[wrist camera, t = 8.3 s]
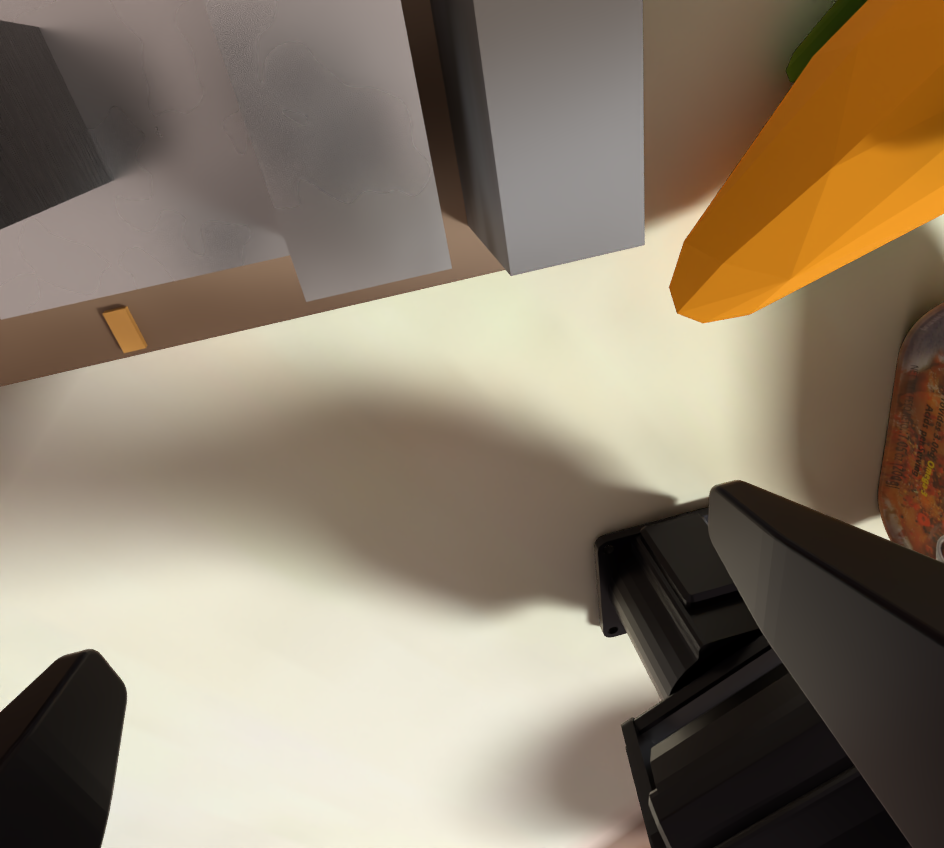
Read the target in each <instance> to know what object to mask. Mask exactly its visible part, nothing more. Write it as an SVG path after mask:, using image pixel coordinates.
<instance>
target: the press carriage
mask: <svg viewBox="0 0 944 848" xmlns="http://www.w3.org/2000/svg"><path fill="white" fill-rule="evenodd" d="M289 255H290V256H291V259H292V262H293V265H294V268H295V271H296V274H297V277H298V279H299V282H300V285H301V288H302V291H303V294H304V297H305V300H306V302H308V301H313V300H317V299H321V298H326V297H330V296H334V295H339V294H343V293H347V292H352V291H356V290H361V289H365V288H369V287H374V286H378V285H382V284H387V283H391V282H395V281H400V280H404V279H408V278H413V277H417V276H422V275H426V274H430V273H435V272H439V271H443V270H448V269H452V266H451V261H450V255H449V250H448V245H447V240H446V234H445V229H444V224H443V219H442V214H441V208H440V203H439V198H438V193H437V188H436V182H435V177H434V172H433V167H432V161H431V156H430V151H429V146H428V141H427V135H426V130H425V125H424V120H423V115H422V109H421V104H420V99H419V94H418V88H417V83H416V78H415V73H414V68H413V62H412V57H411V52H410V47H409V42H408V36H407V31H406V26H405V21H404V15H403V10H402V5H401V0H0V319H1V320H2V319H7V318H11V317H16V316H20V315H25V314H29V313H34V312H38V311H43V310H47V309H51V308H56V307H60V306H65V305H69V304H74V303H78V302H83V301H87V300H92V299H96V298H101V297H105V296H110V295H114V294H119V293H123V292H128V291H132V290H137V289H141V288H146V287H150V286H155V285H159V284H164V283H168V282H172V281H177V280H181V279H186V278H190V277H195V276H199V275H204V274H208V273H213V272H217V271H222V270H226V269H231V268H235V267H240V266H244V265H249V264H253V263H258V262H262V261H267V260H271V259H276V258H280V257H284V256H289Z"/></svg>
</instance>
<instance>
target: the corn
mask: <svg viewBox="0 0 944 848" xmlns="http://www.w3.org/2000/svg"><path fill="white" fill-rule="evenodd" d="M786 73H787V75H788V78H789V81H790V82H793V81H795V83H794V84H793V86H792V87H791V89H790V90H789V91H788V93H787V94H786V96H785V97H784V99H783V100H782V101H781V103H780V104H779V106H778V107H777V109H776V110H775V112H774V113H773V114H772V116H771V117H770V119H769V120H768V122H767V123H766V124H765V126H764V127H763V129H762V130H761V132H760V133H759V135H758V136H757V137H756V139H755V140H754V142H753V143H752V145H751V146H750V147H749V149H748V150H747V152H746V153H745V155H744V156H743V157H742V159H741V160H740V162H739V163H738V165H737V166H736V168H735V169H734V170H733V172H732V173H731V175H730V176H729V178H728V179H727V180H726V182H725V183H724V185H723V186H722V188H721V189H720V190H719V192H718V193H717V195H716V196H715V198H714V199H713V201H712V202H711V203H710V205H709V206H708V208H707V209H706V211H705V212H704V213H703V215H702V216H701V218H700V219H699V221H698V222H697V223H696V225H695V226H694V228H693V229H692V231H691V232H690V234H689V235H688V236H687V238H686V239H685V241H684V243H683V246H682V249H681V252H680V255H679V258H678V261H677V264H676V268H675V271H674V274H673V277H672V280H671V283H670V286H669V289H670V292H671V295H672V298H673V302H674V305H675V308H676V312H677V314H680V315H683V316H685V317H688V318H691V319H693V320H696V321H698V322H701V323H707V322H713V321H718V320H724V319H729V318H734V317H740V316H745V315H750V314H752V313H754V312H756V311H758V310H759V309H761V308H763V307H765V306H767V305H769V304H771V303H773V302H775V301H777V300H779V299H781V298H783V297H784V296H786V295H788V294H790V293H792V292H794V291H796V290H798V289H800V288H802V287H804V286H806V285H808V284H809V283H811V282H813V281H815V280H817V279H819V278H821V277H823V276H825V275H827V274H829V273H831V272H832V271H834V270H836V269H838V268H840V267H842V266H844V265H846V264H848V263H850V262H852V261H854V260H856V259H857V258H859V257H861V256H863V255H865V254H867V253H869V252H871V251H873V250H875V249H877V248H879V247H881V246H882V245H884V244H886V243H888V242H890V241H892V240H894V239H896V238H898V237H900V236H902V235H904V234H906V233H907V232H909V231H911V230H913V229H915V228H917V227H919V226H921V225H923V224H925V223H927V222H929V221H931V220H932V219H934V218H936V217H938V216H940V215H942V214H944V0H837V1H836V3H835V4H834V5H833V6H832V7H831V8H830V9H829V11H828V12H827V13H826V14H825V15H824V16H823V18H822V19H821V20H820V21H819V22H818V24H817V25H816V26H815V27H814V28H813V30H812V31H811V32H810V33H809V34H808V36H807V37H806V38H805V39H804V41H803V42H802V43H801V44H800V45H799V47H798V48H797V49H796V50H795V51H794V53H793V55H792V57H791V59H790V62H789V64H788V67H787V69H786Z"/></svg>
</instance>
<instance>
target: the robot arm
mask: <svg viewBox="0 0 944 848" xmlns="http://www.w3.org/2000/svg"><path fill="white" fill-rule="evenodd" d="M608 545H609V546H608ZM606 546H608V547H606ZM594 551H595V564H596V577H597V590H598V603H599V616H600V627H601V629H602V632H603V634H604V636H606V637H615V636H618V635H622V634H626V633H627V634H628V636H629V637H630V639H631V641H632V643H633V645H634V647H635V649H636V651H637V653H638V655H639V657H640V659H641V661H642V663H643V665H644V667H645V669H646V671H647V673H648V675H649V677H650V679H651V680H652V682H653V684H654V686H655V688H656V690H657V692H658V694H659V696H660V698H661V700H662V701H661V702H659V703H658V704H656V705H655V706H653V707H652V708H650V709H649V710H647V711H646V712H644V713H643V714H641V715H640V716H638V717H637V718H633V717H632V718H631V719H629V720H628V721H626V722H625V723H623V724H622V725H621V727H622V731H623V735H624V739H625V743H626V752H627V755H628V759H629V763H630V767H631V771H632V775H633V779H634V783H635V787H636V791H637V795H638V799H639V802H640V806H641V810H642V814H643V818H644V822H645V826H646V830H647V834H648V838H649V842H650V845H651V848H944V563H943V562H941V561H938V560H936V559H933V558H931V557H929V556H926V555H924V554H921V553H919V552H916V551H914V550H911V549H909V548H906V547H904V546H902V545H899V544H897V543H894V542H892V541H889V540H887V539H884V538H882V537H879V536H877V535H875V534H872V533H870V532H867V531H865V530H862V529H860V528H857V527H855V526H852V525H850V524H848V523H845V522H843V521H840V520H838V519H835V518H833V517H830V516H828V515H825V514H823V513H821V512H818V511H816V510H813V509H811V508H808V507H806V506H803V505H801V504H798V503H796V502H793V501H791V500H789V499H786V498H784V497H781V496H779V495H776V494H774V493H771V492H769V491H766V490H764V489H762V488H759V487H757V486H754V485H752V484H749V483H747V482H744V481H741V480H734V481H730V482H726V483H722V484H718V485H715V486H714V487H712V488H711V490H710V494H709V507H707V508H704V509H700V510H696V511H692V512H689V513H685V514H681V515H678V516H674V517H670V518H666V519H663V520H659V521H655V522H651V523H648V524H644V525H640V526H637V527H633V528H629V529H625V530H622V531H618V532H614V533H610V534H607V535H604V536H601V537H600V538H598V539H597V540H596V542H595V544H594ZM126 704H127V691H126V687H125V685H124V683H123V681H122V680H121V678H120V677H119V676H118V675H117V673H116V672H115V671H114V670H113V669H112V667H111V666H110V665H109V664H108V662H107V661H106V660H105V659H104V657H103V656H102V655H101V654H100V653H99V652H98V651H96V650H93V649H86V650H82V651H79V652H75V653H71V654H67V655H64V656H62V657H60V658H58V659H57V660H56V661H55V662H54V663H52V664H51V665H50V666H49V667H48V668H47V669H46V670H45V671H44V672H43V673H42V674H41V675H40V676H39V677H37V678H36V679H35V680H34V681H33V682H32V683H31V684H30V685H29V686H28V687H27V688H26V689H25V690H24V691H22V692H21V693H20V694H19V695H18V696H17V697H16V698H15V699H14V700H13V701H12V702H11V703H10V704H9V705H7V706H6V707H5V708H4V709H3V710H2V711H1V712H0V848H101V845H102V841H103V837H104V833H105V829H106V825H107V820H108V816H109V811H110V805H111V800H112V795H113V788H114V782H115V775H116V769H117V762H118V756H119V749H120V743H121V736H122V730H123V724H124V717H125V711H126Z"/></svg>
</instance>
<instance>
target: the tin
mask: <svg viewBox="0 0 944 848" xmlns="http://www.w3.org/2000/svg"><path fill="white" fill-rule="evenodd" d="M878 503H879V509H880V514H881V518H882V521H883V524H884V527H885V530H886V532H887V534H888V536H889V539H890V541H892V542H894V543H897V544H899V545H902V546H904V547H906V548H909V549H911V550H914V551H916V552H919V553H921V554H924V555H926V556H929V557H931V558H933V559H936V560H938V561H941V562H943V563H944V302H943V303H941V304H939V305H937V306H936V307H934V308H933V309H931V310H930V311H928V312H927V313H926V314H924V315H923V316H922V317H921V318H920V319H919V320H918V321H917V322H916V323H915V324H914V325H913V327H912V328H911V329H910V331H909V332H908V334H907V336H906V338H905V339H904V341H903V344H902V346H901V348H900V351H899V355H898V360H897V366H896V373H895V381H894V388H893V395H892V401H891V410H890V417H889V423H888V430H887V437H886V444H885V450H884V456H883V462H882V469H881V475H880V482H879V489H878Z"/></svg>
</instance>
